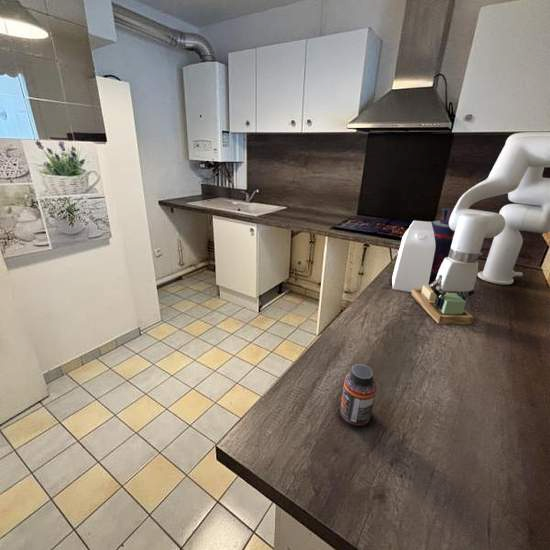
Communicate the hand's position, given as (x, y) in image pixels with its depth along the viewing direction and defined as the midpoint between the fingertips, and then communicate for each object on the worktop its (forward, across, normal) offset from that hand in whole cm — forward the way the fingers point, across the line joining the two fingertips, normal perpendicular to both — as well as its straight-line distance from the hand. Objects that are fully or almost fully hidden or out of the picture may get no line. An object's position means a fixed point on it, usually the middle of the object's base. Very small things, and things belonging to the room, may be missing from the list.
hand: (448, 307), depth 94 cm
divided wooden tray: (+3, 0, -5) cm, 6 cm away
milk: (+3, +3, -23) cm, 23 cm away
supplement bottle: (+3, +40, +40) cm, 57 cm away
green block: (+1, 0, 0) cm, 1 cm away
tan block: (+2, 0, -10) cm, 10 cm away
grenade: (+3, -11, -29) cm, 31 cm away
